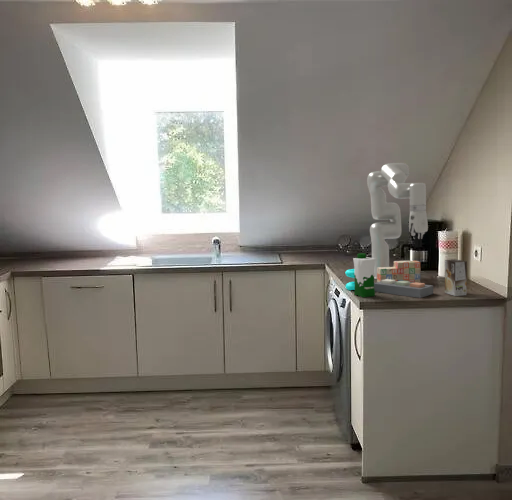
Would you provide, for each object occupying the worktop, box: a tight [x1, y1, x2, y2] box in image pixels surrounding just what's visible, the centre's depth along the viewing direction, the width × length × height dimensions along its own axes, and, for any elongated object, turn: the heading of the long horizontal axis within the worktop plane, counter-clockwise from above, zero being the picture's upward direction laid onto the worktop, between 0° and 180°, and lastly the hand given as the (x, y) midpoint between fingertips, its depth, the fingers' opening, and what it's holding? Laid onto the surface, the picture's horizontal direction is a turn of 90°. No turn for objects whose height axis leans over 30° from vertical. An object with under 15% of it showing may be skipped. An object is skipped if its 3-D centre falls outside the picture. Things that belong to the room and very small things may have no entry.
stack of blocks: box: [376, 260, 422, 283], centre depth 280 cm, size 21×6×12 cm, turn 93°
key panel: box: [374, 281, 434, 299], centre depth 259 cm, size 26×12×4 cm, turn 43°
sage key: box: [395, 281, 410, 286], centre depth 259 cm, size 5×5×3 cm
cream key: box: [381, 279, 395, 284], centre depth 265 cm, size 5×5×3 cm
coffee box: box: [444, 258, 468, 297], centre depth 251 cm, size 9×6×16 cm
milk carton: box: [352, 252, 376, 298], centre depth 254 cm, size 9×9×20 cm
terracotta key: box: [410, 282, 426, 288], centre depth 253 cm, size 5×5×3 cm
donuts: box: [345, 268, 355, 291], centre depth 271 cm, size 10×10×10 cm
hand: (418, 247), depth 256 cm, fingers closed
